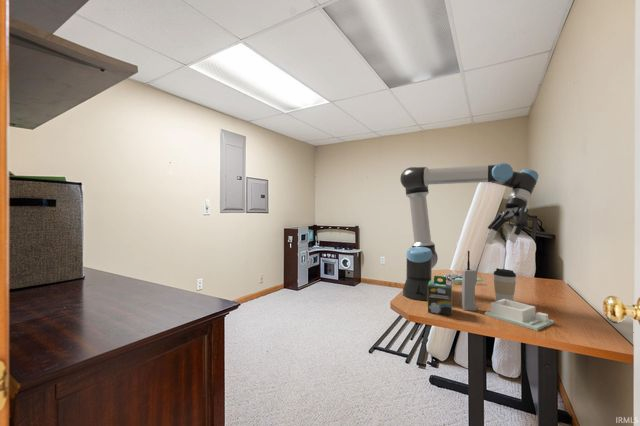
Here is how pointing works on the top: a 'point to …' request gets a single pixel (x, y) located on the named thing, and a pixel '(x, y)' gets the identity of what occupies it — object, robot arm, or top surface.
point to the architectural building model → (518, 314)
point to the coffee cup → (504, 284)
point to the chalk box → (440, 296)
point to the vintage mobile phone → (469, 287)
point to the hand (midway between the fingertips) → (499, 242)
